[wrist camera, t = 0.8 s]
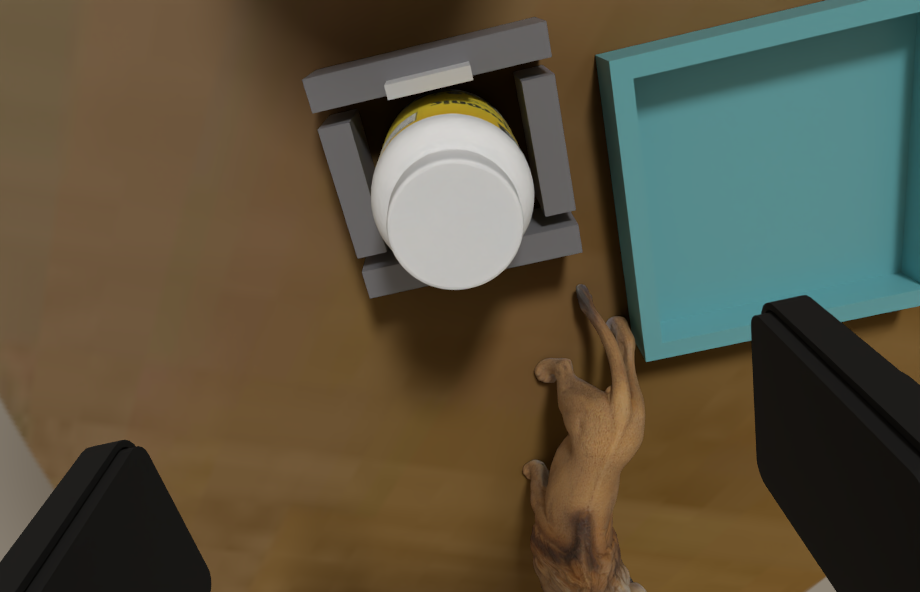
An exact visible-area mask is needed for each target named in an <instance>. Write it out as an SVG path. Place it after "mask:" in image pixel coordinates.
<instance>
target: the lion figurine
mask: <svg viewBox="0 0 920 592" xmlns="http://www.w3.org/2000/svg"><path fill="white" fill-rule="evenodd" d="M576 292H577V298H578V302H579V305H580V308H581V310H582V311H583V313H584V314H585V315H586V316H587V317H588V319H589V320H590V322H591V323H592V324H593V326H594V328H595V329H596V331H597V333H598V334H599V336H600V338H601V341H602V344H603V346H604V348H605V351H606V354H607V357H608V360H609V365H610V370H611V377H612V385H611V386H609V387H608V388H607V389H606V391H602V390H600V389H598V388H596V387H595V386H593V385H591V384H589V383H587V382H586V381H584V380H582V379H580V378H578V377H576V376H575V374H574V372H573V367H572V362H571V360H569V359H566V358H563V359H555V358H548V359H544V360H542V361H541V362H540V363H539V364H538V365H537V366H536V368H535V371H534V372H535V375H536V377H537V379H538V380H540V381H542V382H544V383H553V382H555V381H556V380H557V397H558V406H559V410H560V412H561V414H562V416H563V420H564V425H565V427H566V430H567V431H568V433H569V435H568V436H567V437H566V438H565V439H564V440H563V442H562V443H561V444H560V446H559V447H558V449H557V451H556V453H555V456H554V458H553V461H552V464H551V468H550V472H549V471H548V469H547V467H546V465H545V464H544V463H543V462H541V461H539V460H532V461H530V462H528V463H527V464H525V465H524V467H523V474H524V475H525V476H526V477H527V478H528V479H530V480H531V499H530V500H531V506H532V509H533V511H534V513H535V524H534V525H533V529H532V535H531V539H530V540H531V551H532V554H533V566H534V569H535V572H536V574H537V575H538V577H539V579H540V583H541V588H542V589H543V591H544V592H646V590H645V589H644V588H643V587H642V586H641V585H640V584H638V583H635V582H633V581H632V579H631V578H630V576H629V571H628V569H627V568H626V567H625V565H624V564H623V562H622V560H621V555H620V548H619V544H618V539H617V534H616V532H615V530H614V528H613V527H612V526H613V514H612V511H613V508H614V506H615V503H616V498H617V494H618V488H619V479H620V472H621V470H622V469H623V467H624V466H625V465H626V464H627V463H628V462H629V461H630V460H631V458H632V457H633V456H634V454H635V453H636V452H637V450H638V448H639V447H640V445H641V443H642V440H643V435H644V426H645V406H644V399H643V396H642V393H641V390H640V387H639V383H638V379H637V376H636V371H635V362H634V351H635V345H636V344H635V338H634V336H633V334H632V332H631V330H630V328H629V325H628V322H627V320H626V319H625V318H624V317H621V316H614V317H611V318H610V319H608V321H607V322H606V323H605V322H604V320H603V319H602V317H601V316H600V314H599V313H598V312H597V310H596V309H595V306H594V305H593V301H592V295H591V294H590V293H589V291H588V289H587V287H586V286H585V285H583V284H579V285H577V286H576ZM548 478H549V480H548Z"/></svg>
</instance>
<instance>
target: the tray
mask: <svg viewBox="0 0 920 592" xmlns="http://www.w3.org/2000/svg"><path fill="white" fill-rule="evenodd" d="M595 58H596V65H597V73H598V81H599V88H600V96H601V104H602V111H603V119H604V127H605V134H606V142H607V150H608V157H609V165H610V172H611V180H612V188H613V195H614V203H615V211H616V218H617V226H618V234H619V241H620V249H621V257H622V264H623V272H624V279H625V287H626V295H627V302H628V310H629V318H630V325H631V332H632V334H633V336H634V338H635V343H636V345H637V347H638V348H639V350H640V352H641V354H642V356H643V357H644V359H645V361H646V362H649V361H654V360H659V359H664V358H669V357H673V356H678V355H683V354H688V353H693V352H698V351H703V350H707V349H712V348H717V347H722V346H727V345H732V344H737V343H741V342H746V341H751V320H752V317H753V316H754V315H759V314H761V311H762V308H763V305H764V304H765V303H768V302H773V301H778V300H782V299H787V298H792V297H796V296H801V295H807V296H809V297H811V298H812V299H813V300H815V301H816V302H817V303H818V304H819V305H821V306H822V307H823V308H824V309H826V310H827V311H828V312H829V313H830V314H832V315H833V316H834V317H835V318H836V319H838V320H839V321H840V322H843V321H848V320H853V319H858V318H863V317H868V316H873V315H877V314H882V313H887V312H892V311H897V310H902V309H907V308H911V307H916V306H920V0H826V1H822V2H817V3H813V4H809V5H805V6H800V7H796V8H792V9H788V10H783V11H779V12H775V13H771V14H767V15H762V16H758V17H754V18H750V19H745V20H741V21H737V22H733V23H729V24H724V25H720V26H716V27H712V28H707V29H703V30H699V31H695V32H690V33H686V34H682V35H678V36H674V37H669V38H665V39H661V40H657V41H652V42H648V43H644V44H640V45H636V46H631V47H627V48H623V49H619V50H614V51H610V52H606V53H602V54H597V55H595Z"/></svg>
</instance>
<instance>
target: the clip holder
mask: <svg viewBox="0 0 920 592" xmlns="http://www.w3.org/2000/svg"><path fill="white" fill-rule="evenodd" d="M548 57H552V55H551V48H550V42H549V36H548V29H547V23H546V21H545V20H542V19H539V18H536V17H533V18H529V19H525V20H521V21H516V22H512V23H508V24H504V25H500V26H496V27H492V28H487V29H483V30H479V31H475V32H471V33H467V34H463V35H458V36H454V37H450V38H446V39H442V40H438V41H434V42H430V43H425V44H421V45H417V46H413V47H409V48H405V49H401V50H396V51H392V52H388V53H384V54H380V55H376V56H372V57H367V58H363V59H359V60H355V61H351V62H347V63H343V64H338V65H334V66H330V67H326V68H322V69H318V70H315V71H314V72H312V73H311V74H310V75H308V76H307V77H305V78H304V79H303V80H302V81H303V84H304V88H305V91H306V94H307V97H308V101H309V104H310V107H311V110H312V113H317V112H321V111H325V110H329V109H334V108H338V107H342V106H346V105H350V104H355V103H359V102H363V101H367V100H372V99H376V98H380V97H384V96H387V99H388V100H392V99H396V98H400V97H404V96H408V95H413V94H417V93H421V92H425V91H430V90H434V89H438V88H442V87H446V86H451V85H455V84H459V83H463V82H467V81H472V80H473V75H477V74H481V73H485V72H490V71H494V70H498V69H502V68H506V67H511V66H515V65H519V64H523V63H527V62H532V61H536V60H540V59H544V58H548ZM513 75H514V80H515V86H516V91H517V97H518V102H519V108H520V113H521V119H522V124H523V130H524V135H525V141H526V146H527V152H528V157H529V163H530V168H531V174H532V179H533V184H534V190H535V195H536V197H537V200H538V202H539V204H540V206H541V207H540V208H536V209H533V212H532V217H531V220H530V223H529V225H528V228H527V230H526V232H525V233H524V235H523V237H522V241H521V244H520V247H519V249H518V251H517V253H516V255H515V257H514V258H513V260H512V261H511V263H510V264H509V265H508V267H507V268H506V269H508V268H512V267H517V266H522V265H526V264H531V263H535V262H540V261H545V260H549V259H554V258H558V257H563V256H568V255H572V254H577V253H581V252H582V246H581V240H580V233H579V227H578V223H577V222H576V220H575V218H574V217H573V215H572V213H571V211H574V210H576V208H575V201H574V195H573V189H572V182H571V176H570V170H569V163H568V157H567V150H566V144H565V138H564V131H563V125H562V119H561V112H560V106H559V99H558V93H557V87H556V80H555V74H554V73H553V72H551V71H550V70H549V69H547V68H546V67H545V66H543V65H540V66H535V67H531V68H527V69H523V70H519V71H514V72H513ZM318 133H319V136H320V139H321V142H322V146H323V149H324V152H325V155H326V159H327V162H328V165H329V168H330V171H331V175H332V178H333V181H334V184H335V187H336V191H337V194H338V197H339V200H340V204H341V207H342V210H343V213H344V216H345V220H346V223H347V226H348V229H349V233H350V236H351V239H352V242H353V245H354V249H355V252H356V255H357V258H363V257H366V258H365V262H364V266H363V270H362V274H363V278H364V281H365V284H366V287H367V290H368V294H369V297H370V298H375V297H379V296H384V295H388V294H393V293H398V292H402V291H407V290H411V289H416V288H421V287H425V286H430V285H427V284H425V283H423V282H421V281H419V280H418V279H416V278H415V277H413V276H412V275H411V274H410V273H408V272H407V271H406V270H405V269H404V268H403V267H402V266H401V264H400V263H399V262H398V260H397V259H396V257H395V255H394V253H393V251H392V250H391V249H390V248H389V246H388V245H387V244H386V243H385V241H384V240H383V238H382V236H381V235H380V233H379V231H378V228H377V226H376V223H375V220H374V217H373V212H372V207H371V186H372V179H373V174H374V171H375V167H374V164H373V160H372V156H371V153H370V149H369V146H368V142H367V139H366V135H365V132H364V128H363V125H362V121H361V117H360V114H359V110H358V109H354V110H350V111H345V112H341V113H337V114H333V115H329V116H328V118H327V119H326V120H325V121H324V123H323V124H322V125H321V126H320V128H319V129H318Z"/></svg>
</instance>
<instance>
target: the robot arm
mask: <svg viewBox="0 0 920 592" xmlns="http://www.w3.org/2000/svg"><path fill="white" fill-rule="evenodd" d="M751 342H752V364H753V386H754V408H755V431H756V453H757V464H758V468H759V472H760V475H761V477H762V479H763V482H764V483H765V485H766V487H767V488H768V490H769V491H770V493H771V494H772V496H773V497H774V499H775V500H776V502H777V503H778V505H779V506H780V508H781V509H782V511H783V512H784V514H785V515H786V517H787V518H788V520H789V521H790V523H791V524H792V526H793V527H794V529H795V530H796V532H797V533H798V535H799V536H800V538H801V539H802V541H803V542H804V544H805V545H806V547H807V548H808V550H809V551H810V553H811V554H812V556H813V557H814V559H815V560H816V562H817V563H818V565H819V566H820V568H821V569H822V571H823V572H824V574H825V575H826V577H827V578H828V580H829V581H830V583H831V584H832V586H833V587H834V588H835V590H836V592H920V385H919V384H918V383H917V382H915V381H914V380H913V379H912V378H911V377H909V376H908V375H906V374H904V373H903V372H901V371H900V370H898V369H897V368H896V367H895V366H893V365H892V364H891V363H890V362H889V361H887V360H886V359H885V358H884V357H883V356H881V355H880V354H879V353H878V352H876V351H875V350H874V349H873V348H872V347H870V346H869V345H868V344H867V343H866V342H864V341H863V340H862V339H861V338H859V337H858V336H857V335H856V334H855V333H853V332H852V331H851V330H850V329H849V328H847V327H846V326H845V325H844V324H843V323H841V322H840V321H839V320H838V319H836V318H835V317H834V316H833V315H832V314H830V313H829V312H828V311H827V310H826V309H824V308H823V307H822V306H821V305H819V304H818V303H817V302H816V301H815V300H813V299H812V298H811V297H809V296H807V295H801V296H796V297H792V298H787V299H782V300H778V301H773V302H768V303H765V304H764V305H763V308H762V311H761V314H759V315H754V316H753V317H752V320H751ZM210 591H211V576H210V572H209V569H208V567H207V565H206V563H205V561H204V559H203V558H202V556H201V554H200V552H199V550H198V548H197V546H196V544H195V542H194V540H193V538H192V536H191V535H190V533H189V531H188V529H187V527H186V525H185V523H184V521H183V519H182V517H181V515H180V514H179V512H178V510H177V508H176V506H175V504H174V502H173V500H172V498H171V496H170V494H169V493H168V491H167V489H166V487H165V485H164V483H163V481H162V479H161V477H160V475H159V473H158V471H157V470H156V468H155V466H154V464H153V462H152V460H151V458H150V456H149V454H148V453H147V451H146V450H145V449H144V448H142V447H139V446H137V447H136V446H135V445H134V444H133V443H132V442H130V441H128V440H121V441H116V442H112V443H107V444H102V445H97V446H93V447H89V448H86V449H85V450H84V451H83V452H82V453H81V455H80V456H79V457H78V459H77V460H76V461H75V463H74V464H73V465H72V467H71V468H70V469H69V471H68V472H67V473H66V475H65V476H64V477H63V479H62V480H61V481H60V483H59V484H58V485H57V487H56V488H55V490H54V491H53V492H52V494H51V495H50V496H49V498H48V499H47V500H46V502H45V503H44V505H43V506H42V507H41V508H40V510H39V511H38V512H37V514H36V515H35V516H34V518H33V519H32V520H31V522H30V523H29V524H28V526H27V527H26V528H25V530H24V531H23V532H22V534H21V535H20V536H19V538H18V539H17V540H16V542H15V543H14V544H13V546H12V547H11V548H10V550H9V551H8V553H7V554H6V555H5V556H4V558H3V559H2V561H1V562H0V592H210Z"/></svg>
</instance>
